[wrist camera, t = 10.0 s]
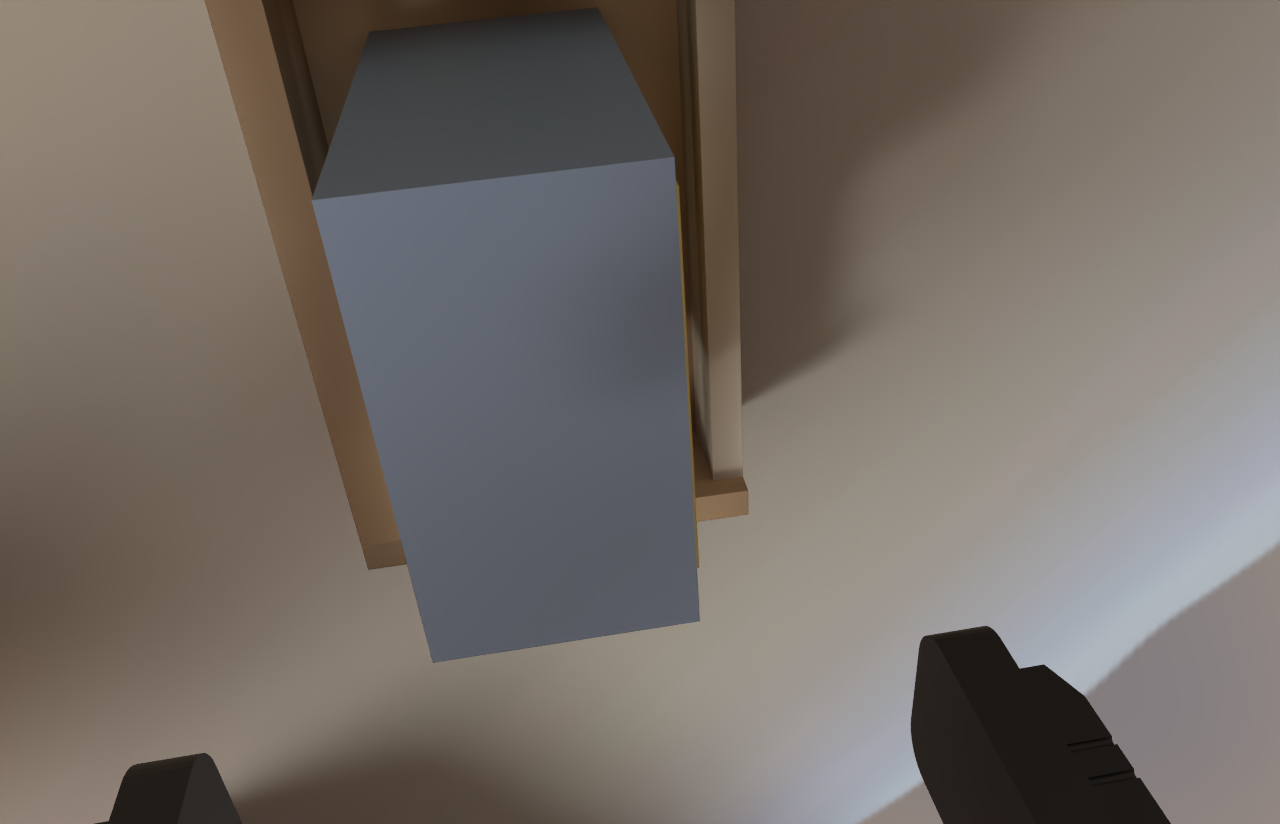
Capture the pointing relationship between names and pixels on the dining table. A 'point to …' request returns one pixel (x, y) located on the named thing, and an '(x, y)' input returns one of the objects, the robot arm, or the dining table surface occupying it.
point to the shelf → (302, 134)
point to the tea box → (518, 328)
